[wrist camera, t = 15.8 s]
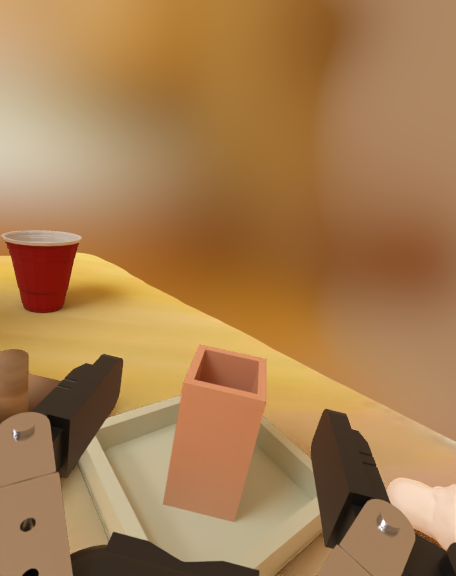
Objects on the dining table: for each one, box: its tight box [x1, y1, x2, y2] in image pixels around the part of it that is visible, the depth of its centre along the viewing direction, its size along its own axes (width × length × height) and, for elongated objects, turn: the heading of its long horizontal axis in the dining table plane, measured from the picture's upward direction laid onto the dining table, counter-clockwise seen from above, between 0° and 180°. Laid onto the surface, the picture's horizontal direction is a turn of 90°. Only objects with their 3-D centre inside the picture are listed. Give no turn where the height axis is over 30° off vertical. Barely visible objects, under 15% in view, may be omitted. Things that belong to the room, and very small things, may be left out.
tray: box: [77, 395, 323, 576], centre depth 28 cm, size 16×16×3 cm
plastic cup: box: [1, 230, 82, 313], centre depth 53 cm, size 11×11×12 cm
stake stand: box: [0, 349, 61, 424], centre depth 28 cm, size 12×12×8 cm
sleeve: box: [163, 345, 266, 522], centre depth 27 cm, size 6×6×11 cm
